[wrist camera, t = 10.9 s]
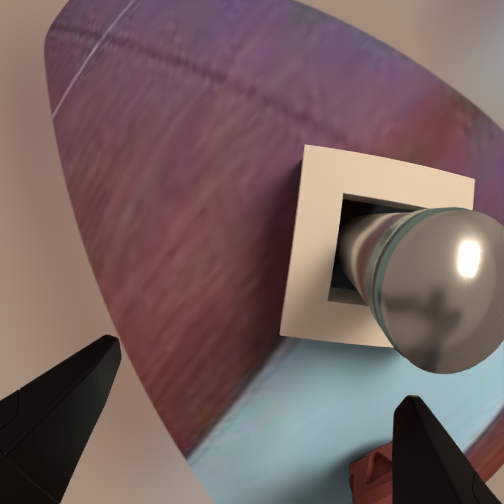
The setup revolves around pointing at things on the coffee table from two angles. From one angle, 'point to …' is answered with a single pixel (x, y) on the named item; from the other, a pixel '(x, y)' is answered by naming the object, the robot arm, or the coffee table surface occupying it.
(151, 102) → the coffee table surface
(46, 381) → the robot arm
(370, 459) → the mechanical component
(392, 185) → the docking block
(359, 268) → the cylinder
